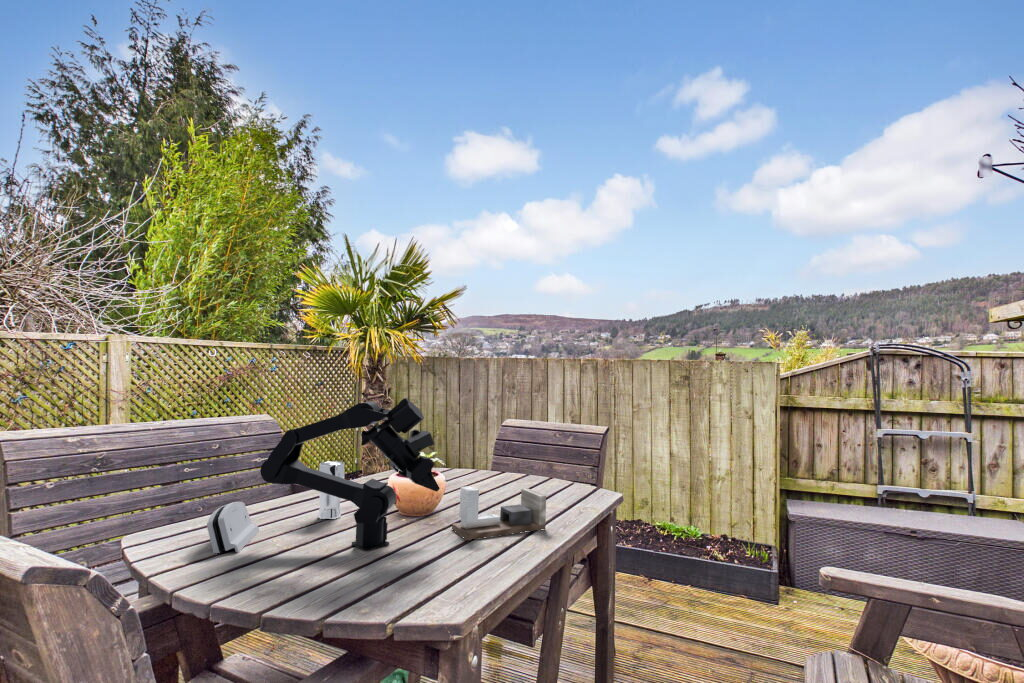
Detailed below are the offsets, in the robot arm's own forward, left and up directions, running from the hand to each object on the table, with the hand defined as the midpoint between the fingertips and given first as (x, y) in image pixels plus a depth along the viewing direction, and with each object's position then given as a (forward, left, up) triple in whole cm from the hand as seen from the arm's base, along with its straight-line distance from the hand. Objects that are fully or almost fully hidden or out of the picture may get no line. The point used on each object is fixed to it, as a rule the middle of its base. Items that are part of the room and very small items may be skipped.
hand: (432, 487), depth 127 cm
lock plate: (+18, -7, -13) cm, 23 cm away
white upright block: (-9, +34, -13) cm, 37 cm away
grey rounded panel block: (-35, +30, -13) cm, 48 cm away
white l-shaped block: (+13, -5, -11) cm, 17 cm away
